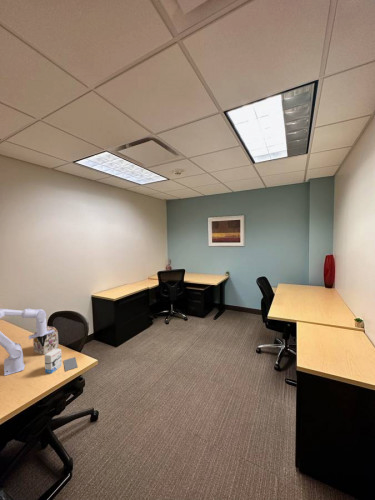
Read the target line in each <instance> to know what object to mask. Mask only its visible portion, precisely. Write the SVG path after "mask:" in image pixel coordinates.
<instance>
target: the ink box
mask: <svg viewBox="0 0 375 500" xmlns="http://www.w3.org/2000/svg"><path fill="white" fill-rule="evenodd" d="M62 361H63V360H62V348H55V349H53V350H52V351H50V352H48V353H47V354H45V355H44V371H45V372H44V373H45V374H53V373H54V372H55V371H56V370H58V369H60V368H61V367H62V366H63V363H62Z"/></svg>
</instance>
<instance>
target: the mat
mask: <svg viewBox="0 0 375 500" xmlns="http://www.w3.org/2000/svg"><path fill="white" fill-rule="evenodd" d="M77 363H78V362H77V359H76V357H75V356H74V357H70V358H66V359H64V360H63V364H64V370H65V371H64V372H67V371H71V370H75V369H77V368H79V366H78V364H77Z"/></svg>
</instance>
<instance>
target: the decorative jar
mask: <svg viewBox="0 0 375 500" xmlns="http://www.w3.org/2000/svg"><path fill="white" fill-rule="evenodd" d="M46 326H47V331H50V330H54V331H55V333H52V334H48V335H47V338H46V340H45V343H44V346H43V347H42V346H41V343H40V342H39V340H38V339H37V337H36V338H32V342H33V343H32V345H33V353H36V354H40V355H44V356H45V354H47V353H48V352H50V351H52V350H53V349H55V348H57V349H59V332H58V329H57V328H55V327H54V326H49V325H46ZM36 333H37V331H35V332H34V334H36ZM42 342H43V336H42Z"/></svg>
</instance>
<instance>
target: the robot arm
mask: <svg viewBox="0 0 375 500" xmlns="http://www.w3.org/2000/svg"><path fill="white" fill-rule="evenodd" d="M5 316H12V317H13V316H16V317H17V316H19V317H21V318H22V319H35V326H36V332H37V333H36V334H35V333H34V334H29V336H28V340H33V338H36V337H37V339H38V340H39V342H40V343H41V346H42V347H43V346H44V343H45V340H46V338H47V335H48V334H52V333H55V331H54V330H50V331H47V326H48V325H47V316H48V315H47V312H46V311H45V310H44V309H43V308H37V309H33V308H30V307H28V308H25V309H23V310H19V309H18V310H17V309H11V308H10V309H9V308H0V319H1V318H3V317H5ZM42 336H43V342H42ZM0 346H1V347H2V348H3V349H4V350H5V351H6V352H7V354H8V355H9V356H8V357H6V358H5V359H4V361H3V372H4V373H3V375H4V376H8V375H12V374H16V373H19V372H22V371H24V370H25V366H26V364H25V363H24V353H23V349H22V345H21V344H20V343H18V342H17V343H16V342H15V341H14V340H11V339H10V338H9V337H8V336H6V334H4V333H3V332H2V331H1V330H0Z"/></svg>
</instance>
